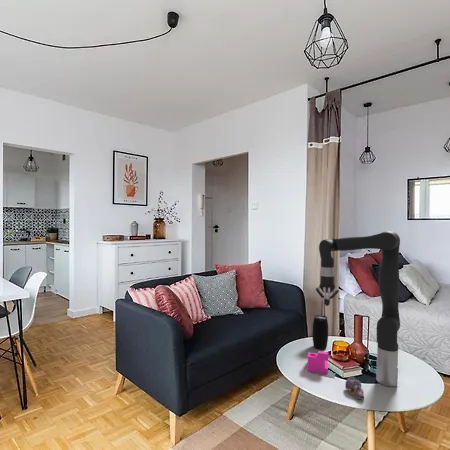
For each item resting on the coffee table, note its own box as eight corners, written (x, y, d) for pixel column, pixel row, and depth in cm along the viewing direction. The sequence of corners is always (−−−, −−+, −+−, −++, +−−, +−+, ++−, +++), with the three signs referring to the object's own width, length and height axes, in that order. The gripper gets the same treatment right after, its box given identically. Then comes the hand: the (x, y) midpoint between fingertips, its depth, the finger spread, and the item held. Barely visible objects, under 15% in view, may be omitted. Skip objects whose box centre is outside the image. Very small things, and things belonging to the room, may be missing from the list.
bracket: (327, 373, 166) (328, 354, 166) (307, 370, 169) (308, 351, 168) (327, 363, 177) (327, 345, 177) (308, 360, 180) (308, 342, 180)
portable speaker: (310, 345, 203) (310, 314, 202) (323, 344, 204) (324, 314, 204) (316, 350, 194) (317, 319, 194) (330, 349, 196) (331, 318, 196)
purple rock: (368, 402, 142) (368, 389, 141) (350, 401, 142) (351, 387, 142) (359, 388, 153) (360, 375, 153) (343, 386, 154) (343, 374, 154)
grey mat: (336, 366, 175) (336, 366, 175) (334, 378, 162) (334, 377, 162) (314, 362, 179) (314, 361, 179) (310, 373, 167) (310, 372, 167)
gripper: (340, 274, 180) (339, 305, 180) (316, 272, 185) (315, 302, 185) (339, 276, 173) (338, 308, 173) (314, 275, 178) (313, 305, 179)
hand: (326, 305), depth 179 cm, fingers closed
